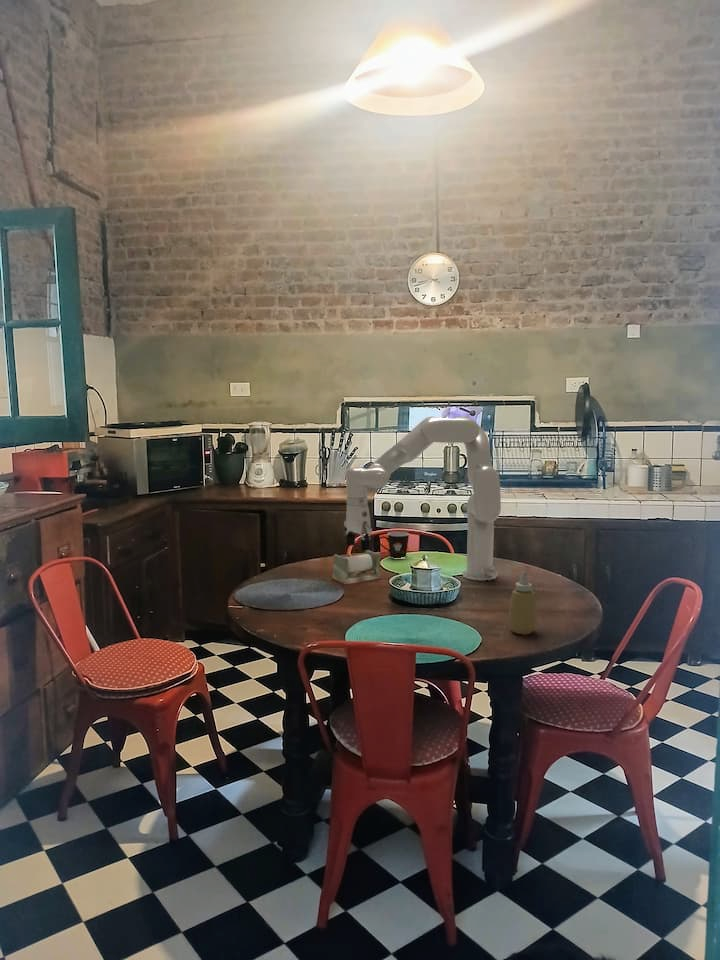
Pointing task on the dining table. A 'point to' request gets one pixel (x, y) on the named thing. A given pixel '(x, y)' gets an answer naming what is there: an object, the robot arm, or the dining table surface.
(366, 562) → the paper roll
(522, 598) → the squeeze bottle
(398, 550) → the coffee mug
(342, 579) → the roll holder
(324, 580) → the dining table surface
